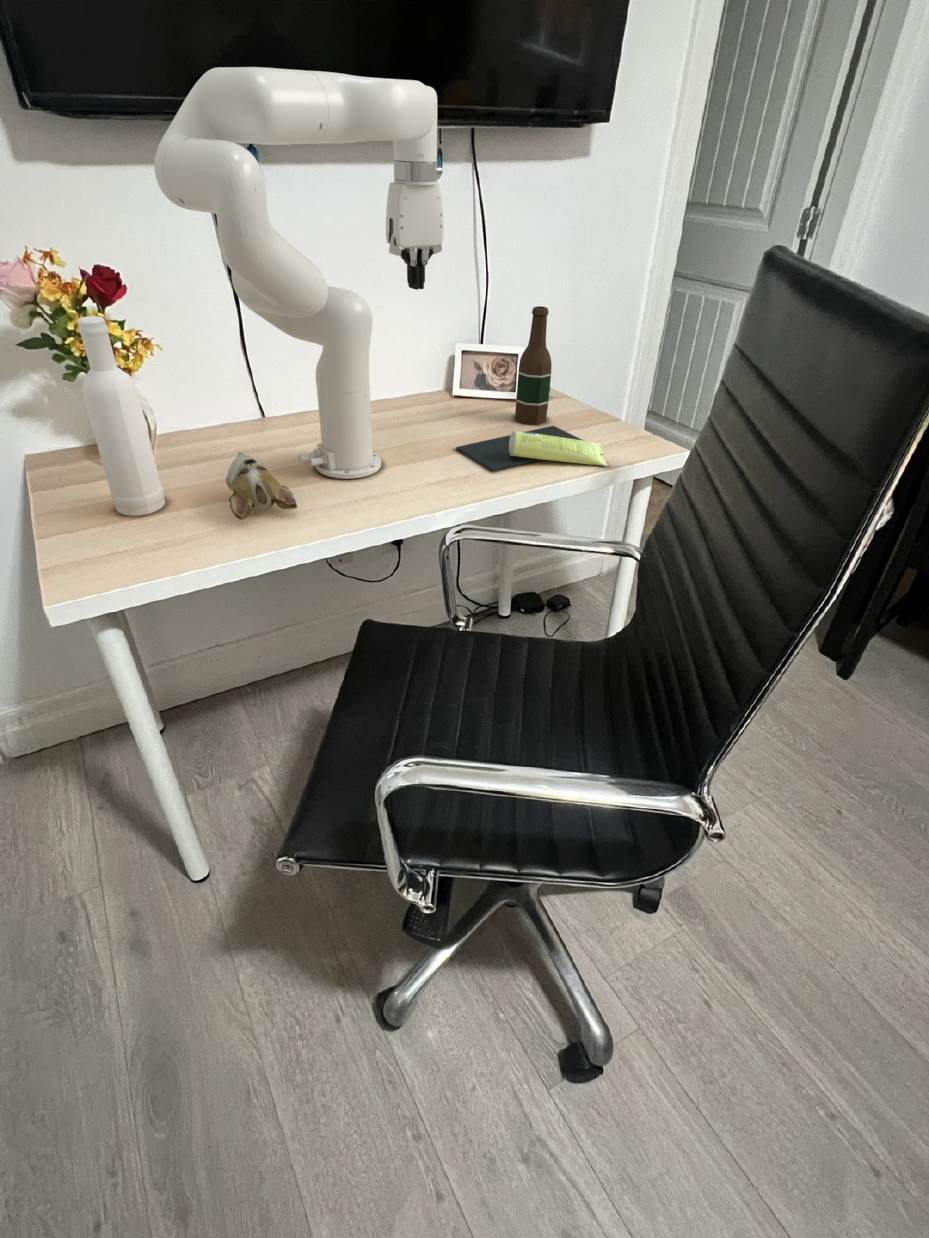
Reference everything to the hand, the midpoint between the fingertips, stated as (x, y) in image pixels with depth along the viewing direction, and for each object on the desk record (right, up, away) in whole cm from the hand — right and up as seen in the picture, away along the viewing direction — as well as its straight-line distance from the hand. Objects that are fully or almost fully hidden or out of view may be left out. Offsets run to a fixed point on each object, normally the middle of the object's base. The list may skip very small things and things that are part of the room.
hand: (416, 288), depth 131 cm
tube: (+18, -28, +5) cm, 34 cm away
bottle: (-46, -44, -14) cm, 65 cm away
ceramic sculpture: (-26, -44, -13) cm, 53 cm away
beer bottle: (+24, -17, +28) cm, 41 cm away
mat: (+22, -28, +13) cm, 37 cm away
